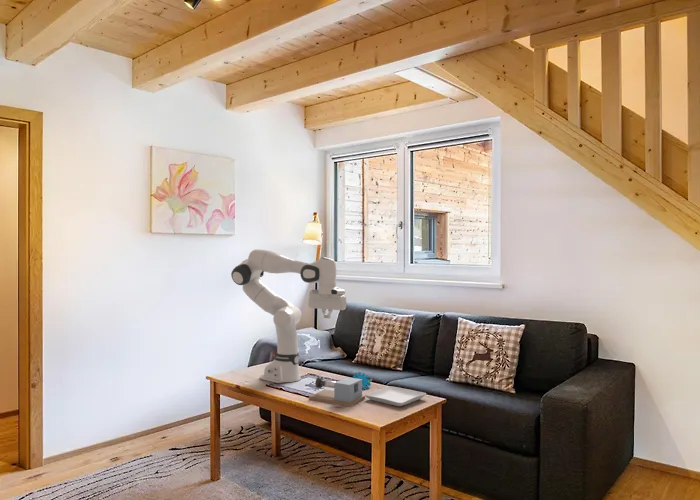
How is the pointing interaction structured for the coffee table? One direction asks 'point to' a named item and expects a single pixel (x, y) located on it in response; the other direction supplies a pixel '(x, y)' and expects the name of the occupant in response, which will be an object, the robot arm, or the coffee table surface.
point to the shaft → (324, 383)
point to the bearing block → (342, 393)
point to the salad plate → (395, 396)
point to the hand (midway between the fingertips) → (326, 318)
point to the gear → (363, 380)
